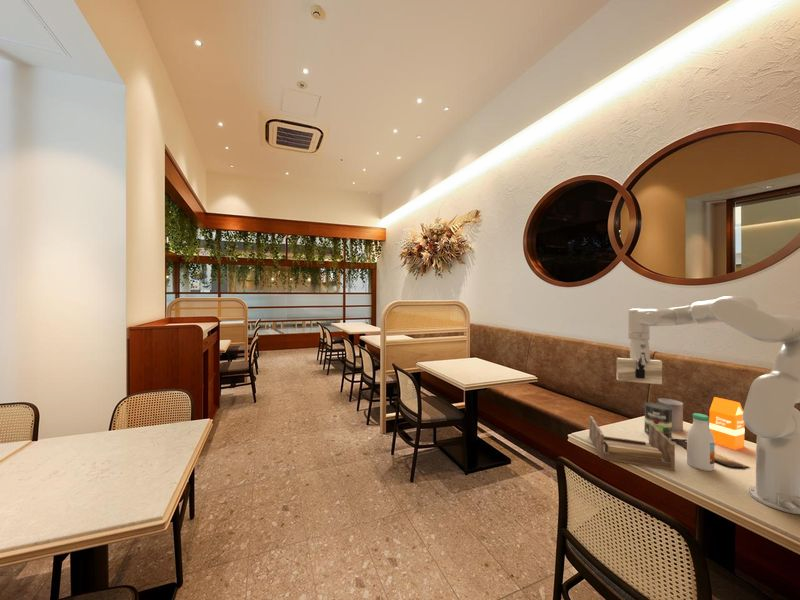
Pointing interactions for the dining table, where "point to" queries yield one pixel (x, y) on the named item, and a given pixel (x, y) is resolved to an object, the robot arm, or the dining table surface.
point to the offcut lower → (634, 455)
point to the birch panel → (628, 371)
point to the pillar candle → (674, 413)
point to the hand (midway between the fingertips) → (638, 376)
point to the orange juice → (727, 423)
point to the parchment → (717, 456)
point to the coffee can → (658, 418)
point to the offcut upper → (633, 449)
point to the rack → (655, 441)
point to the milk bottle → (700, 444)
